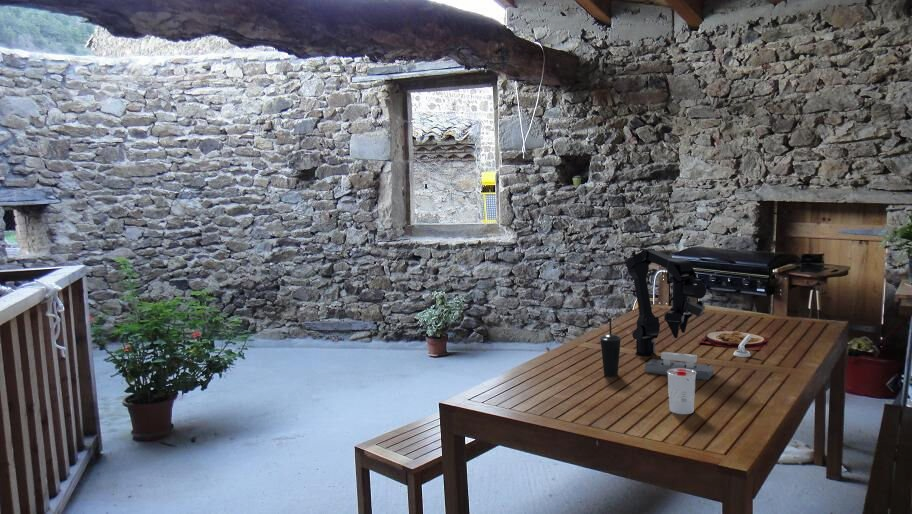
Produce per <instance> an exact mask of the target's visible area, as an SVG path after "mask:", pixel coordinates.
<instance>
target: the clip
mask: <svg viewBox="0 0 912 514" xmlns="http://www.w3.org/2000/svg"><path fill="white" fill-rule="evenodd" d="M660 360H663V365H668V366H672V362H673V361H674V362H683V363H686V368H694V369H695V364H696V363H697V362H698V355H697V354H689V353H680V352H670V351H662V352H661V353H660Z"/></svg>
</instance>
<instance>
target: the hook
mask: <svg viewBox="0 0 912 514" xmlns="http://www.w3.org/2000/svg"><path fill="white" fill-rule="evenodd" d="M750 338H751V336H750V335H749V334H748V335H747V336H746V337H745V338H744V340H743V341H742V342H741V343H740V344H739V346H738V348H737V349H736V350H734V352H733V355H734V356H735V357H740V358H748V357H751V352H750V351H749V350H745V349H746V347H744V346H745V344H746V343H747V342H748V341H749V340H750Z"/></svg>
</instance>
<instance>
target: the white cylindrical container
mask: <svg viewBox="0 0 912 514" xmlns="http://www.w3.org/2000/svg"><path fill="white" fill-rule="evenodd" d="M667 373H668V375H667V390H668V404H669V405H668V406H669V408H668V409H669V411H670V413H673V414H677V415H691V414H692V413H694V411H695V398H696V397H695V396H696V395H695V393H696V379H695V377H696V374H697V373H696V372H695V371H693V370H690V369H684V368H674V369H669V370H667Z"/></svg>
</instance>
